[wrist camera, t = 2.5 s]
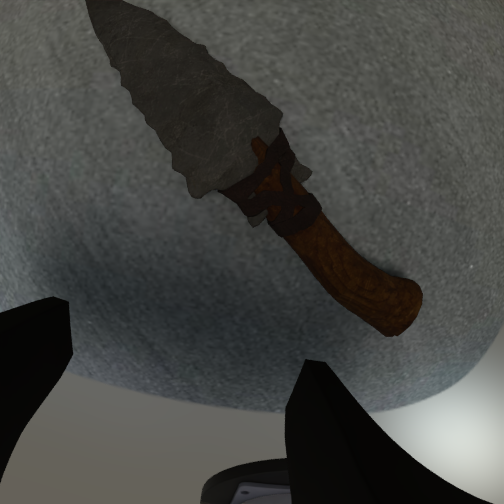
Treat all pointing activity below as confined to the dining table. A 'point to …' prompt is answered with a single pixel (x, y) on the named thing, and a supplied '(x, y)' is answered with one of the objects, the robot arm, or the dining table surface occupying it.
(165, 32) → the knife
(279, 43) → the dining table surface
